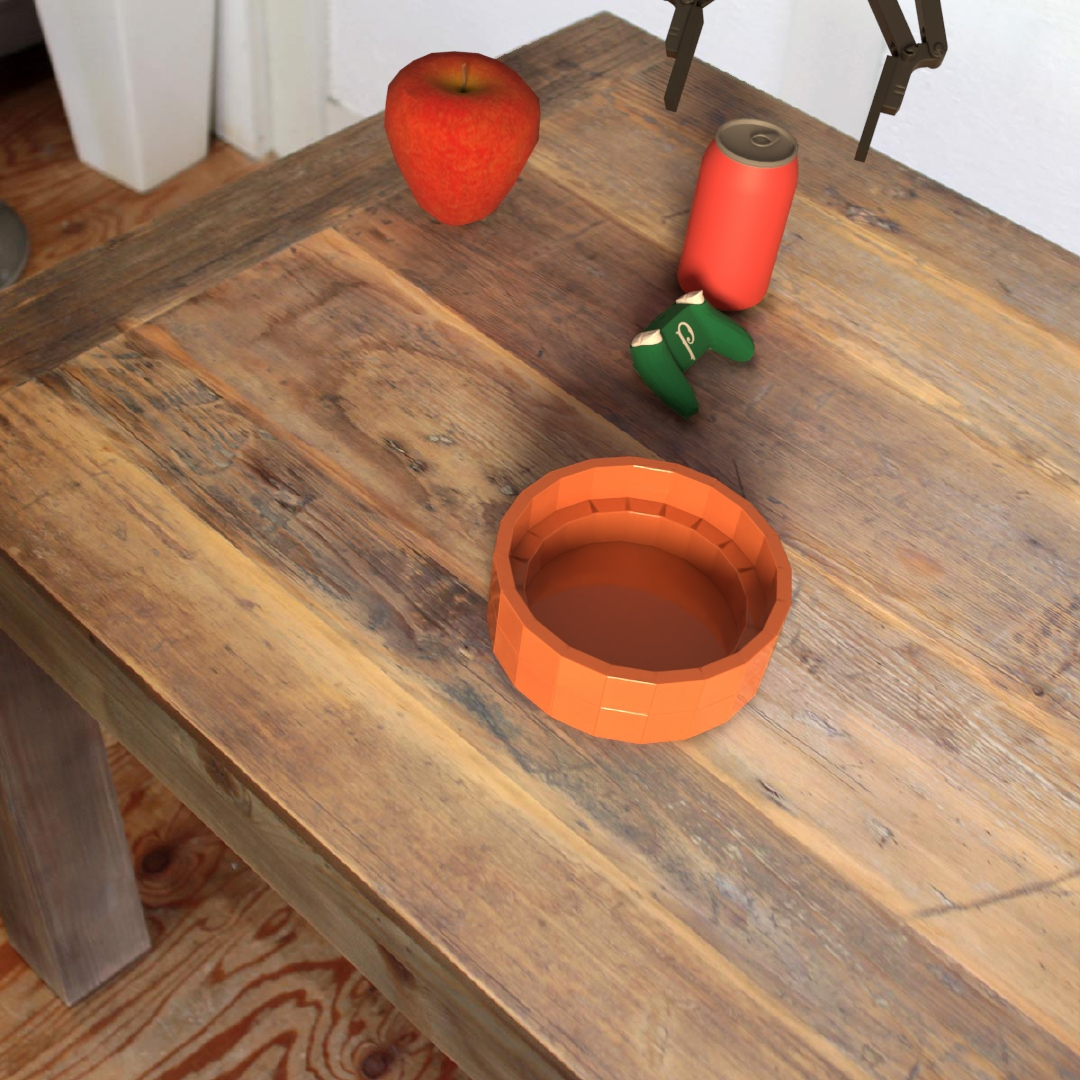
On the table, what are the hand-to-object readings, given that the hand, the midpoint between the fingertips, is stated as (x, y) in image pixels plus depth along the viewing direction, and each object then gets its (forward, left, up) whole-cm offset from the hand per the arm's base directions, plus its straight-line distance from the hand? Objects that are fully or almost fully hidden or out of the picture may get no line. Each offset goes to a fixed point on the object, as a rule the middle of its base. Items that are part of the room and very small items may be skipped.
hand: (764, 131), depth 92 cm
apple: (+21, +1, -10) cm, 23 cm away
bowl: (+5, +38, -10) cm, 39 cm away
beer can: (+1, +5, -10) cm, 11 cm away
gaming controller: (+3, +15, -10) cm, 18 cm away
